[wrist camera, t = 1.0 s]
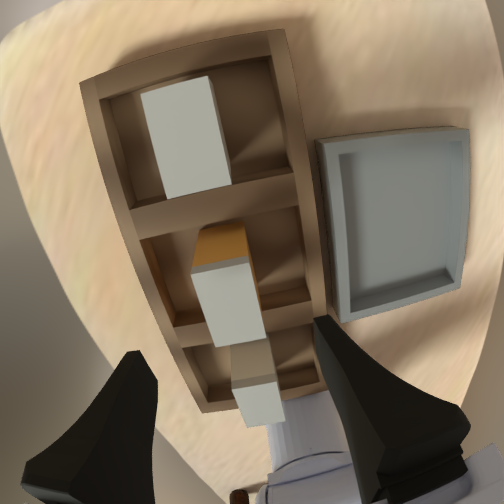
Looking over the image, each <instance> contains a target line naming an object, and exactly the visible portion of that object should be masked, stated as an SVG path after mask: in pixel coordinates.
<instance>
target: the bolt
mask: <svg viewBox="0 0 504 504" xmlns="http://www.w3.org/2000/svg"><path fill="white" fill-rule="evenodd" d="M230 504H249V496H248V494H247V492H246V491H244V492H243V491H241V490H236V491H234V492H232V493H231V494H230Z"/></svg>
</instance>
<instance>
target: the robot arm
mask: <svg viewBox="0 0 504 504" xmlns="http://www.w3.org/2000/svg"><path fill="white" fill-rule="evenodd" d="M313 323H314V334H315V345H316V354H317V358H318V361H319V365H320V368H321V372H322V375H323V377H324V380H325V382H326V385H327V387H328V389H329V390H327V391H323V392H319V393H315V394H311V395H306V396H302V397H297V398H293V399H288V400H283V401H282V404H283V409H284V415H285V420H286V421H283V422H278V423H273V424H267V425H266V428H267V433H268V441H269V448H270V455H271V463H272V470H273V473H269V474H267V476H268V484H265V485H263V486H262V487H261V488H260V490H259V492H258V493H257V496H256V502H255V504H500V503H502V502H503V501H504V459H503V457H502V455H501V453H500V452H499V449H498V447H497V446H496V444H495V443H491V444H490V445H488V446H486V447H485V448H483V449H481V450H480V451H478V452H476V453H475V454H473V455H471V456H469V457H468V458H467V459H465V460H463V458H462V456H461V454H463V450H462V448H461V446H460V444H461V443H462V441H463V440H464V438H465V437H466V435H467V434H468V432H469V430H470V428H471V424H470V423H469V421H468V419H467V417H466V416H465V414H464V413H463V411H462V410H461V409H460V408H459V406H458V405H456V404H453V403H450V402H447V401H444V400H442V399H439V398H437V397H434V396H432V395H430V394H428V393H426V392H423V391H422V390H420V389H418V388H416V387H414V386H412V385H411V384H409V383H407V382H405V381H403V380H402V379H400V378H399V377H397V376H396V375H394V374H393V373H391V372H390V371H388V370H387V369H385V368H384V367H383V366H381V365H380V364H379V363H378V362H376V361H375V360H374V359H373V358H372V357H370V356H369V355H368V354H367V353H366V352H365V351H363V350H362V349H361V348H360V347H359V346H358V345H357V344H356V343H355V342H354V341H353V340H352V339H351V338H350V337H349V336H348V335H347V334H346V333H345V332H344V331H343V330H342V329H341V328H340V327H339V325H338V324H337V323H336V322H335V321H334V320H333V318H332V317H331V316H330V315H328V314H327V315H323V316H319V317H315V318H313ZM157 404H158V380H157V379H156V377H155V375H154V374H153V372H152V371H151V369H150V367H149V366H148V364H147V362H146V360H145V359H144V357H143V355H142V354H141V352H140V350H137V351H130V352H127V353H126V354H125V355H124V357H123V358H122V360H121V361H120V363H119V364H118V366H117V367H116V369H115V370H114V372H113V373H112V375H111V376H110V378H109V379H108V381H107V382H106V384H105V385H104V387H103V388H102V390H101V391H100V392H99V394H98V395H97V396H96V398H95V399H94V400H93V402H92V403H91V405H90V406H89V407H88V408H87V410H86V411H85V412H84V413H83V414H82V415H81V417H80V418H79V419H78V420H77V421H76V422H75V423H74V424H73V425H72V426H71V427H70V428H69V429H68V430H67V431H66V432H65V433H64V434H63V435H62V436H61V437H60V438H59V439H58V440H56V441H55V442H54V443H53V444H52V445H51V446H49V447H48V448H46V449H45V450H44V451H42V452H41V453H39V454H38V455H36V456H35V457H33V458H32V459H30V460H29V461H27V462H26V465H25V469H24V473H23V477H22V481H21V486H22V488H23V489H24V490H25V491H26V492H28V493H29V494H31V495H32V496H34V497H35V498H37V499H39V500H40V501H42V502H44V503H45V504H155V497H154V489H153V476H152V444H153V436H154V428H155V420H156V412H157ZM23 504H27V503H23Z"/></svg>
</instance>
